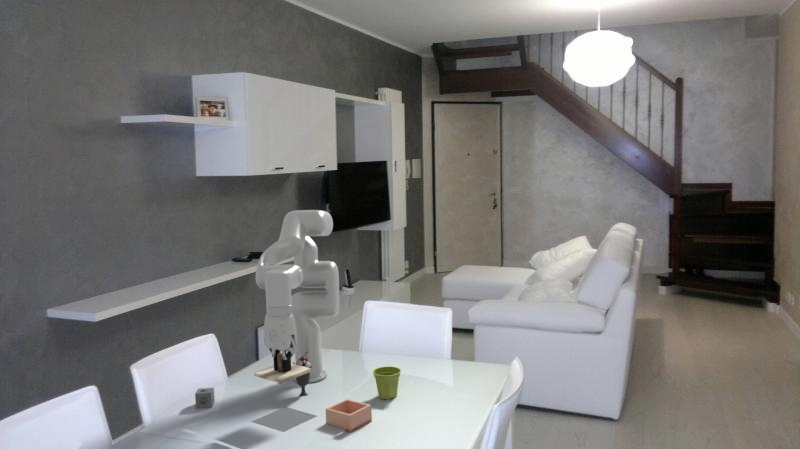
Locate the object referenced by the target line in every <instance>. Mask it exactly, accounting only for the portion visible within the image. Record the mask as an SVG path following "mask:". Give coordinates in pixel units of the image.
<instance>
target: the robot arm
mask: <svg viewBox="0 0 800 449" xmlns="http://www.w3.org/2000/svg"><path fill="white" fill-rule="evenodd" d="M333 228H334V221H333V217H332V215H331V213H329V212H328V211H326V210H320V209H305V210H304V209H302V210H301V209H299V210H296V209H295V210H292V211H289V212H287V213H286V214H285V216H284V218H283V222H282V226H281V230H280V234H279V237H278V240H277V241H275V242H274V243H272V244H271V245H270V246H268V248H266V249H265V250H264V251H263V252H262V254H261V255H260V257H259V260H258V263H257V266H256V271H255V283H256V285H257V286H258V288H259V289H262V290H265V302H266V303H265V304H266V306H265V309H266V314H265V317H264V323H263V344H264V346H265V347H266V348H267V349H268V350H269V351H270V353H271V358H273V365H274V370H278V362H277V354H279V353H282V354H283V360H282V372H283V373H285V372H288V371H290V370H291V364H293V363H294V364H296V362H297V360H298V359H300V358H301V357H304V359H305V358H306V357H307V359H308V362H309V363H310V365H311V366H312V367H311V372H310V377H309V383H316V382H317V383H318V382H320V381H323V380H325V379H326V378H327V376H328V373H327V371H326V370H324V369H323V356H322V355H323V354H322V332H321V331H322V330H321V327H320V325H319V324H318V323H317V321H316V320H315V319H325V318H326V319H328V318H330V319H331V318H335V317H337V316H338V315H339V312H340V311H339V310H340V276H339V275H340V273H339V268H338V265H337V264H336V263H335V262H334V261H331V260H319V254H318V253H319V249H318V246H317V244H316V242H315V241H314V239H312V238H311V237H329V236H330V235H331V234H332V231H333ZM292 258H293V259H294V260H293V264H279V263H281V262H284V261H286V260H289V259H292ZM297 288H309V289H310V288H311V289H312V288H313V289H314V288H324V289H325V290H322V291H320V290H319V291H317V290H314V291H313V290H312V291H311V290H310V291H309V290H308V291H300V292H296V293H294V294H292V290H294V289H297ZM306 352H307V354H306ZM294 355H295V361H294V362H292V358H293V356H294ZM292 381H294V382H296V383H297V381H296V378H294V379H292ZM309 383H308V384H309Z"/></svg>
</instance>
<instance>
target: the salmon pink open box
mask: <svg viewBox="0 0 800 449" xmlns="http://www.w3.org/2000/svg"><path fill="white" fill-rule="evenodd" d="M372 418H373V417H372V405H371V404H369V403H364V402H360V401H357V400H353V399H349V398H346V399H344V400H342V401H339V402H337V403H335V404H333V405H331V406H328V407H327V408H325V423H326V424H327V425H331V426H333V427H337V428H341V429H344V430H343V431H344V432H348V433H352V432H355V431H356V430H359V429H360V428H361V427H363V426H365V425H367V424H370V423H371V422H373V419H372Z"/></svg>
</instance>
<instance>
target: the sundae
mask: <svg viewBox="0 0 800 449" xmlns="http://www.w3.org/2000/svg"><path fill="white" fill-rule="evenodd" d="M306 354H307V352H306ZM295 362H296V361H295ZM292 363H293V362H292ZM293 364H294V363H293ZM296 365H300V366H304V367H308V368H311V367H312V366H311V365H310V363H309V362H308V359H307V357H306V358H305V359H304V357H301V358H300V359H298V360H297V362H296ZM309 377H310V372H309V373H306V374H304V375H301V376H299V377H297V378H296V381H297V382H296V381H295V382H296V383H297V385H298V386H300V388H301V391H300V393H299V394H298V395H299V397H306V396H308V393H307V392H306V386H307V385H308V384H309Z"/></svg>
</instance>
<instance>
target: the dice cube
mask: <svg viewBox="0 0 800 449" xmlns="http://www.w3.org/2000/svg"><path fill="white" fill-rule="evenodd" d="M194 395H195V396H194V397H195V409H197V410H198V409H199V410H200V409H212V408H213V406H214V405H215V402H216V400H215V398H216V397H215V388H214V387H203V388H201V387H200V388H198V389H197V390H196V391H195V394H194Z"/></svg>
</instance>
